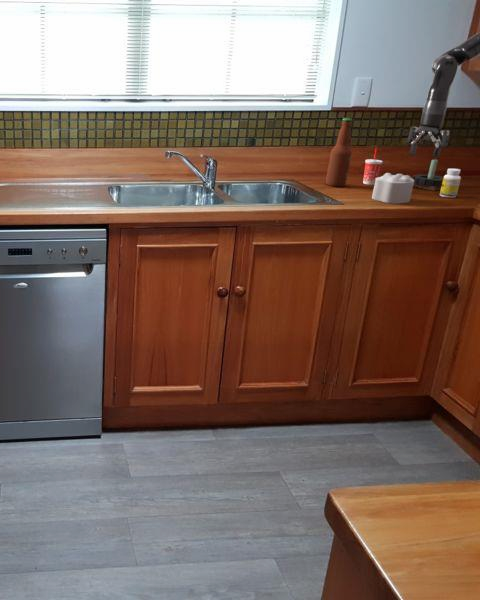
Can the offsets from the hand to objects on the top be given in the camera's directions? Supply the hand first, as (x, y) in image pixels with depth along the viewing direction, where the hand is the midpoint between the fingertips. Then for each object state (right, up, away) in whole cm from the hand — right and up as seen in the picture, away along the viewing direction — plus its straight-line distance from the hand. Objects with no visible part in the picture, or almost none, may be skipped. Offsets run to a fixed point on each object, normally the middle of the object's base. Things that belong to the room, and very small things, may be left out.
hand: (423, 156), depth 234 cm
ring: (+2, -10, +1) cm, 11 cm away
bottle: (-33, -11, +2) cm, 35 cm away
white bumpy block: (-22, -20, -19) cm, 35 cm away
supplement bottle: (+1, -18, -13) cm, 22 cm away
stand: (+2, -12, +1) cm, 12 cm away
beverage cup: (-18, -10, +6) cm, 21 cm away
